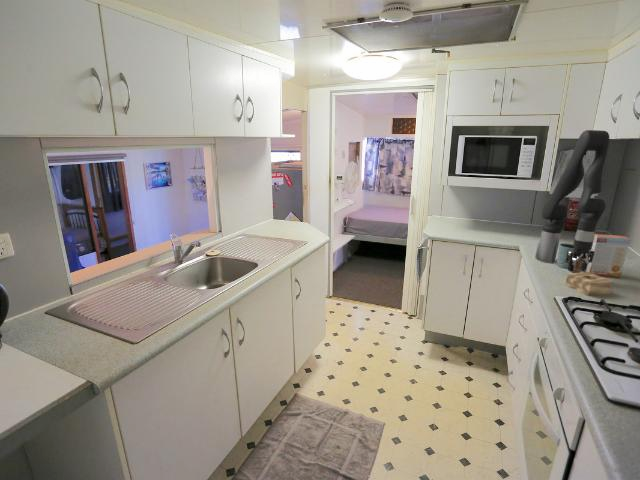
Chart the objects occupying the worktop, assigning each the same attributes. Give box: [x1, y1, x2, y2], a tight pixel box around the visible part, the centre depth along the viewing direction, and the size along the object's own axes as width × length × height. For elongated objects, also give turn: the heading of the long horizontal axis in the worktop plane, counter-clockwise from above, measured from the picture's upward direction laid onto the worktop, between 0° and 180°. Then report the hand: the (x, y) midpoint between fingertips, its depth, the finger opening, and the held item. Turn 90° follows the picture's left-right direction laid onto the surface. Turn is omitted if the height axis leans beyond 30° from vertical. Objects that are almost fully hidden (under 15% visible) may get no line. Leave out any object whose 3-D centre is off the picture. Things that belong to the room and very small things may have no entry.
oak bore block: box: [564, 271, 614, 297], centre depth 167 cm, size 12×12×6 cm
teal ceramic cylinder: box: [556, 243, 575, 270], centre depth 196 cm, size 10×10×12 cm
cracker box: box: [585, 233, 631, 279], centre depth 184 cm, size 14×6×21 cm, turn 73°
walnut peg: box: [571, 258, 584, 273], centre depth 180 cm, size 3×3×11 cm
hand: (576, 270), depth 180 cm, fingers open, 7 cm apart
